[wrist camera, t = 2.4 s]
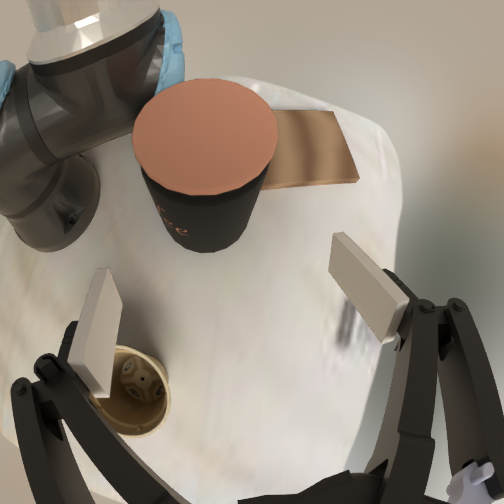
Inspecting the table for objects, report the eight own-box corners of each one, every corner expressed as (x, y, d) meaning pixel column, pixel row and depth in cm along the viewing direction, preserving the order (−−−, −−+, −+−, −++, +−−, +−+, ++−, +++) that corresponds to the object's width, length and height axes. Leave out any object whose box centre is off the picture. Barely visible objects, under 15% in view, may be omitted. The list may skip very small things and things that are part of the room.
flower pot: (105, 402, 28) (76, 421, 20) (112, 332, 31) (82, 333, 22) (176, 420, 29) (165, 448, 21) (185, 349, 31) (176, 358, 23)
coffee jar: (161, 184, 36) (132, 88, 18) (238, 172, 38) (260, 73, 20) (170, 262, 34) (132, 205, 16) (255, 247, 36) (297, 179, 18)
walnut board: (259, 190, 38) (261, 185, 36) (243, 117, 40) (244, 111, 39) (355, 182, 40) (359, 178, 39) (330, 116, 43) (333, 111, 42)
